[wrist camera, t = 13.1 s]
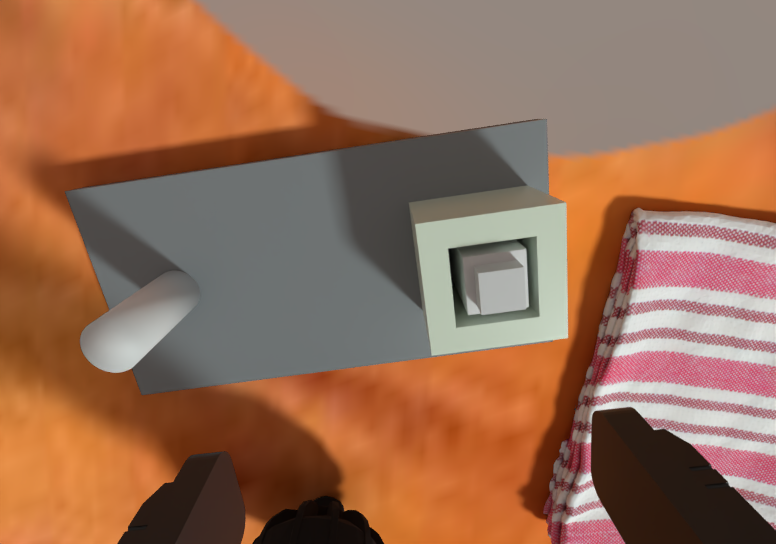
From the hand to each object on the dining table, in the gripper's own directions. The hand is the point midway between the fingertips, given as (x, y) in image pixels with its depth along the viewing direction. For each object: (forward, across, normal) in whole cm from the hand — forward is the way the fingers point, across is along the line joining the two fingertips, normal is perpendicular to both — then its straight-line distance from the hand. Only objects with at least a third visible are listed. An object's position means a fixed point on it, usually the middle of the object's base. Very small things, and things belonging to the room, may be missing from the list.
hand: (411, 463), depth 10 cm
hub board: (+16, +4, 0) cm, 16 cm away
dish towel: (+17, -19, +12) cm, 28 cm away
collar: (+14, -4, 0) cm, 15 cm away
